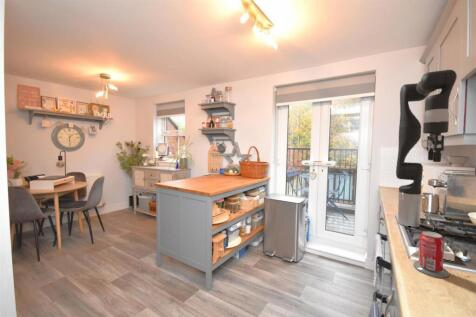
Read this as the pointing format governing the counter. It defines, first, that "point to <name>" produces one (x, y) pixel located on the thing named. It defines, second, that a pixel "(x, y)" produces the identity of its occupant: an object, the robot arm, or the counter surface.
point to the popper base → (449, 254)
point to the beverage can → (431, 251)
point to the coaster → (437, 274)
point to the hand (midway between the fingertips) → (433, 161)
